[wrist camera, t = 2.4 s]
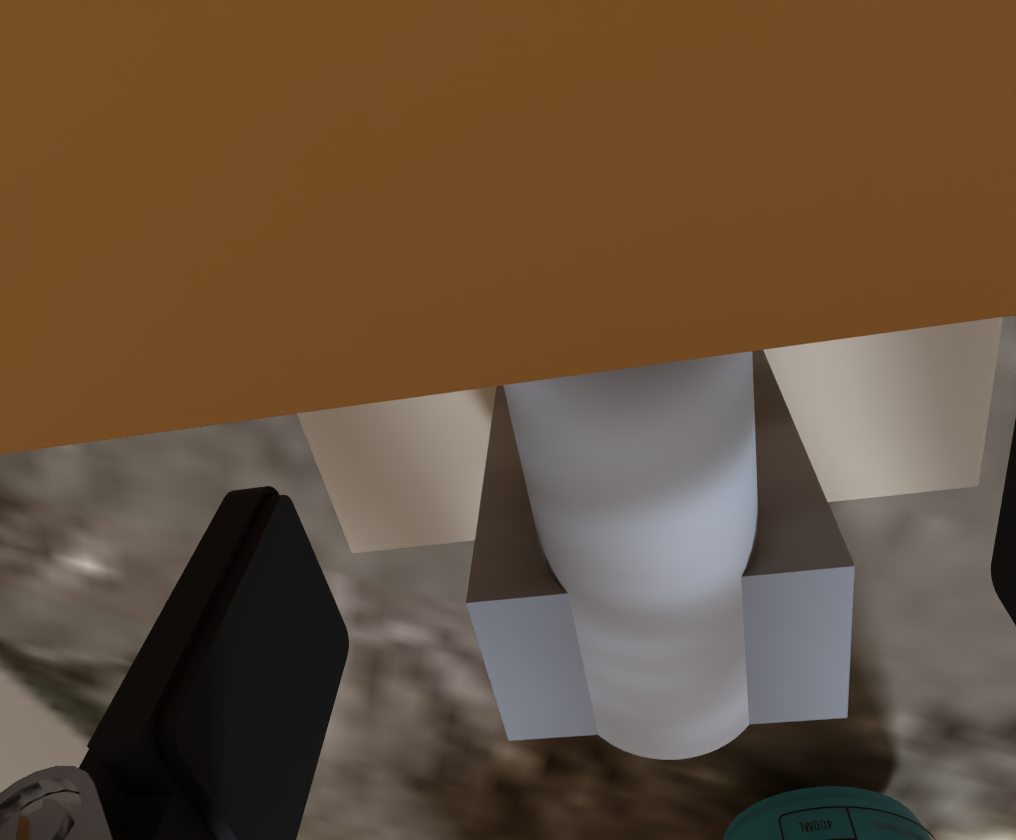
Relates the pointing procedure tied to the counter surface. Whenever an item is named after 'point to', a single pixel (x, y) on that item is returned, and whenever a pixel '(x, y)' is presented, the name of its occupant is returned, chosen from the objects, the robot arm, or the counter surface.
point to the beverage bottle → (827, 817)
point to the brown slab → (477, 194)
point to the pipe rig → (665, 521)
